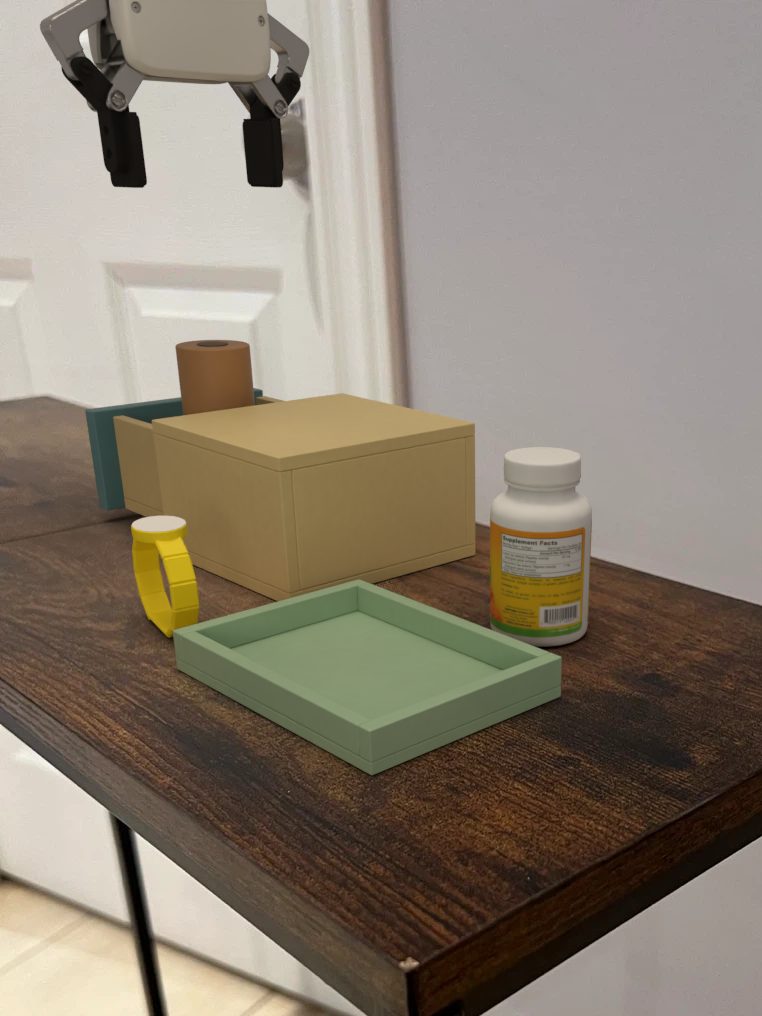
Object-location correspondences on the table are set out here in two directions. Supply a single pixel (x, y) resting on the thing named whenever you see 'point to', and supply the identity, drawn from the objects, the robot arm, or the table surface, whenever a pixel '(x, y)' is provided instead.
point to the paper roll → (214, 375)
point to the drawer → (132, 452)
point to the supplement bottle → (540, 549)
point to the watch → (166, 541)
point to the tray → (368, 671)
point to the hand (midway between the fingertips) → (200, 186)
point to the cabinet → (318, 491)
